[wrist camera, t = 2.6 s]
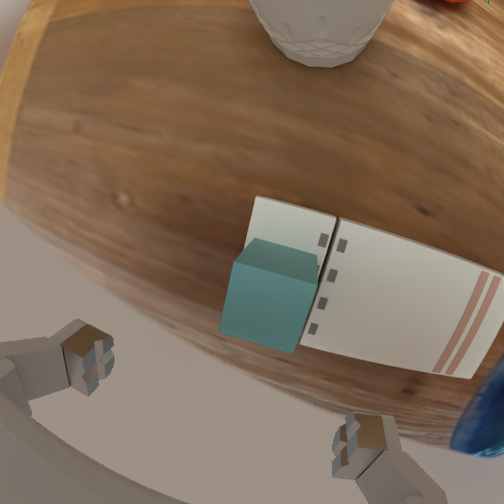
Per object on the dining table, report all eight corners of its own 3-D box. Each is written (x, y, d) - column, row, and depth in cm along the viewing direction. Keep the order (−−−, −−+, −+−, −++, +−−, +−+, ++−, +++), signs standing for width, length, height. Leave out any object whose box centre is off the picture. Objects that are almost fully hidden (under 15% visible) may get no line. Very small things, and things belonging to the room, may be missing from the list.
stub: (335, 215, 18) (345, 236, 12) (296, 335, 21) (288, 389, 15) (258, 195, 19) (234, 205, 13) (230, 316, 21) (203, 363, 16)
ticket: (512, 277, 16) (521, 283, 15) (465, 370, 19) (471, 379, 18) (339, 216, 18) (341, 220, 17) (300, 334, 21) (299, 345, 20)
